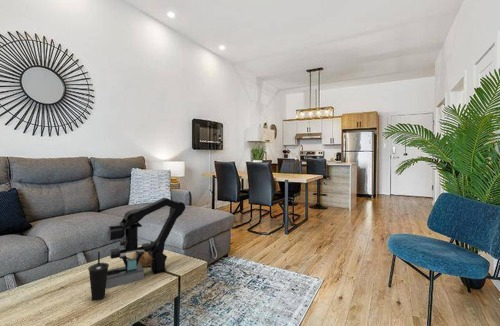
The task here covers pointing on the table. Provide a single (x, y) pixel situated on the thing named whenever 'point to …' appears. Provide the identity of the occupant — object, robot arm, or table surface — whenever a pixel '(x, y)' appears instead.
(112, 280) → the keyhole plate
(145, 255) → the bread roll
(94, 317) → the table surface
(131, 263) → the peg
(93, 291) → the drinking cup
